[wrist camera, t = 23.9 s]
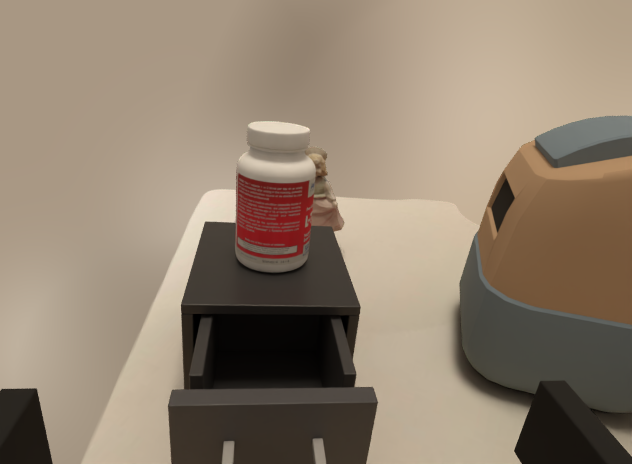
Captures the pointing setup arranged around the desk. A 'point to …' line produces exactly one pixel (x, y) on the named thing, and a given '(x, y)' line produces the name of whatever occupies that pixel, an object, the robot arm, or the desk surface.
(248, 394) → the drawer
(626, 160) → the tan rounded box
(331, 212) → the figurine
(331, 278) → the small cabinet
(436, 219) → the desk surface
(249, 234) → the pill bottle
